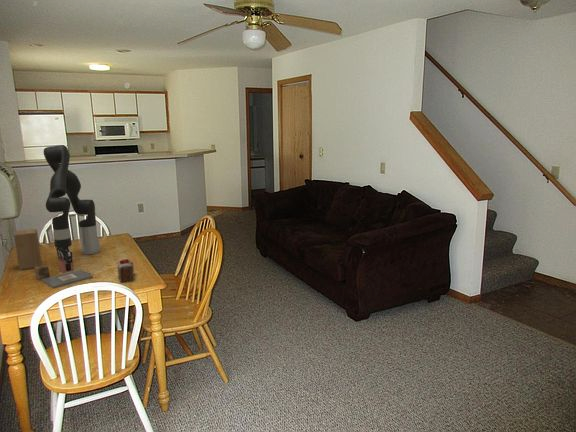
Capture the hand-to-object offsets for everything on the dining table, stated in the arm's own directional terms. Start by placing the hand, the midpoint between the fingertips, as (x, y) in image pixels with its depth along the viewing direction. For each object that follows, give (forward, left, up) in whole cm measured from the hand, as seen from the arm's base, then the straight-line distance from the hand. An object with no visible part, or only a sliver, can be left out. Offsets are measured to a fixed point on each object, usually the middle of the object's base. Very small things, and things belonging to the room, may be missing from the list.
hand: (66, 269), depth 209 cm
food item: (-21, +21, -6) cm, 30 cm away
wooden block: (+5, -38, -6) cm, 38 cm away
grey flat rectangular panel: (0, 0, -5) cm, 5 cm away
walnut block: (+7, -13, -5) cm, 16 cm away
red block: (0, 0, -1) cm, 1 cm away
